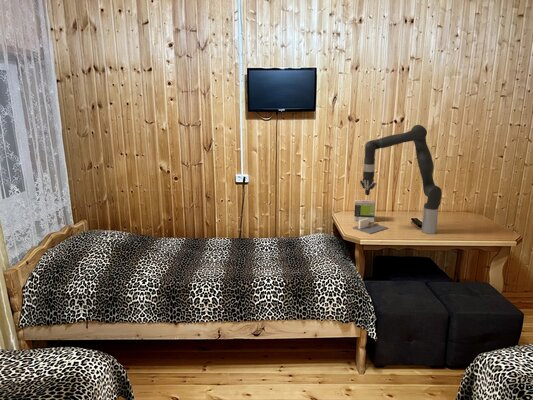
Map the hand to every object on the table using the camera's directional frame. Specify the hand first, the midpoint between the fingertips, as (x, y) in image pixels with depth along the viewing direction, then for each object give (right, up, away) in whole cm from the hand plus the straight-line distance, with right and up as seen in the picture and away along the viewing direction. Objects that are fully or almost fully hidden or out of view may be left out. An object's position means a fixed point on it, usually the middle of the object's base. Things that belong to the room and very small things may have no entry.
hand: (367, 194), depth 266 cm
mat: (+4, -24, +7) cm, 25 cm away
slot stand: (+7, -22, +13) cm, 26 cm away
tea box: (+5, -19, +28) cm, 34 cm away
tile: (+2, -20, +10) cm, 22 cm away
